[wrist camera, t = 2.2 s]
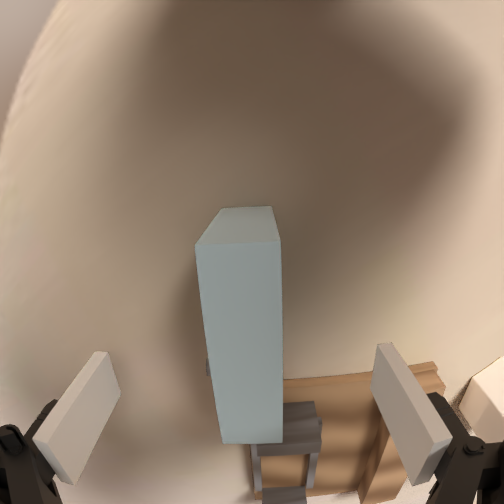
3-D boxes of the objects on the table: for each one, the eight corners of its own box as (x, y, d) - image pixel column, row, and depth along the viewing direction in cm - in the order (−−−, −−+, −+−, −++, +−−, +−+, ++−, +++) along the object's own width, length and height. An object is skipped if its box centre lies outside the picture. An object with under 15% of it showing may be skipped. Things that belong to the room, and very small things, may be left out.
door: (207, 208, 23) (171, 246, 13) (271, 205, 23) (281, 241, 13) (221, 353, 26) (205, 443, 17) (275, 351, 26) (282, 442, 16)
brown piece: (244, 381, 27) (241, 431, 21) (432, 361, 26) (460, 400, 20) (255, 492, 32) (254, 530, 26) (391, 476, 32) (402, 510, 26)
